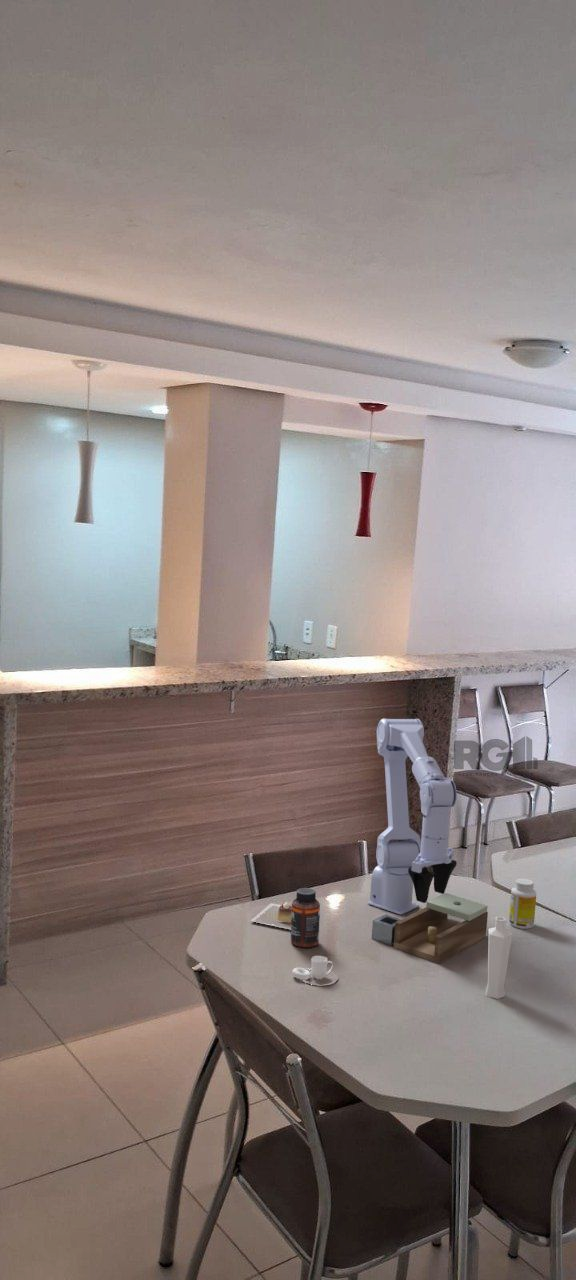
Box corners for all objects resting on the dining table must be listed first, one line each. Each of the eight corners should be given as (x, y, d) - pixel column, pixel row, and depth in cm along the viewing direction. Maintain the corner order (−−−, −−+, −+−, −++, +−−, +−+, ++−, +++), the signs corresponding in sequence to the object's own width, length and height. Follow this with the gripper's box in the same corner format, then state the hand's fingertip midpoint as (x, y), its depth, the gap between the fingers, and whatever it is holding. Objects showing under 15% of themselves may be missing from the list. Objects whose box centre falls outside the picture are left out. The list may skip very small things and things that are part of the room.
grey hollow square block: (371, 938, 215) (372, 920, 214) (384, 931, 219) (385, 914, 218) (391, 945, 212) (392, 927, 211) (403, 938, 216) (405, 920, 215)
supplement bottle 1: (324, 942, 211) (326, 890, 210) (308, 951, 206) (310, 898, 205) (301, 934, 215) (302, 883, 213) (284, 943, 210) (286, 891, 209)
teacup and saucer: (288, 982, 193) (289, 962, 192) (301, 966, 200) (302, 946, 200) (331, 991, 190) (332, 971, 189) (343, 975, 197) (344, 955, 197)
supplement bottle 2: (538, 926, 227) (542, 883, 225) (523, 931, 223) (527, 887, 222) (518, 918, 231) (522, 875, 230) (503, 923, 227) (507, 879, 226)
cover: (426, 907, 219) (426, 900, 219) (444, 898, 225) (445, 891, 225) (469, 921, 213) (469, 914, 212) (487, 911, 219) (487, 904, 219)
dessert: (270, 907, 231) (271, 887, 230) (319, 917, 226) (320, 897, 226) (249, 925, 219) (251, 904, 219) (301, 936, 215) (302, 915, 215)
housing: (393, 947, 211) (395, 922, 210) (442, 921, 226) (444, 898, 226) (438, 963, 204) (440, 937, 203) (486, 936, 219) (487, 912, 219)
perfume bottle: (490, 986, 195) (496, 912, 193) (510, 994, 192) (516, 919, 190) (477, 992, 192) (483, 917, 190) (496, 1001, 188) (502, 924, 187)
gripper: (434, 847, 205) (429, 910, 207) (468, 832, 216) (463, 893, 218) (404, 839, 209) (400, 901, 211) (439, 825, 221) (435, 884, 222)
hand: (430, 896), depth 215 cm, fingers open, 7 cm apart
